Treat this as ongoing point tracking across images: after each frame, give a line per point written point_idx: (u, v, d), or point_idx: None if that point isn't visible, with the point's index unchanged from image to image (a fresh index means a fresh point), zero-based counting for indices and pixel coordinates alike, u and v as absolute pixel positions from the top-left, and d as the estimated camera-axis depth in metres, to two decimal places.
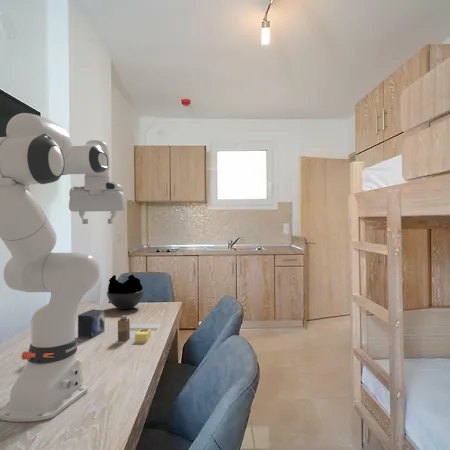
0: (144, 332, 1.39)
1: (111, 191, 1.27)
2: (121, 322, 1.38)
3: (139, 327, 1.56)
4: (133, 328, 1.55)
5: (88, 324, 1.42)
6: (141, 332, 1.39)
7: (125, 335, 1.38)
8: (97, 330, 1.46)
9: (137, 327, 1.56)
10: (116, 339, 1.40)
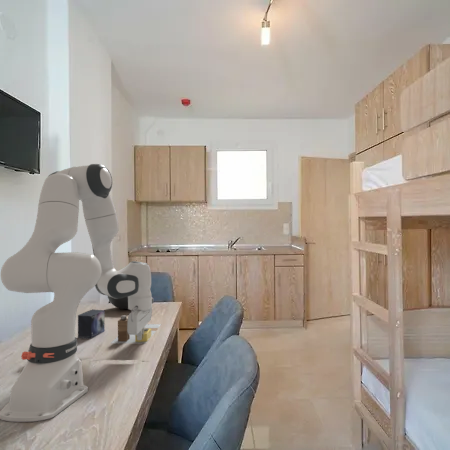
0: (144, 332, 1.40)
1: None
2: (121, 322, 1.38)
3: None
4: None
5: (88, 324, 1.42)
6: None
7: (125, 335, 1.38)
8: (97, 330, 1.46)
9: None
10: (116, 339, 1.40)
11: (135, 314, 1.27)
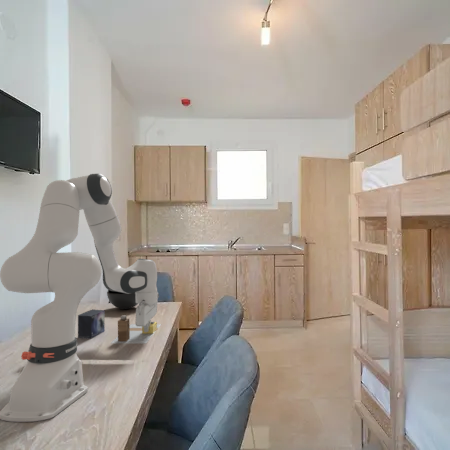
0: (150, 324, 1.50)
1: None
2: (121, 322, 1.38)
3: (139, 327, 1.56)
4: (133, 328, 1.55)
5: (88, 324, 1.42)
6: None
7: (125, 335, 1.38)
8: (97, 330, 1.46)
9: (137, 327, 1.56)
10: (116, 339, 1.40)
11: (142, 307, 1.37)
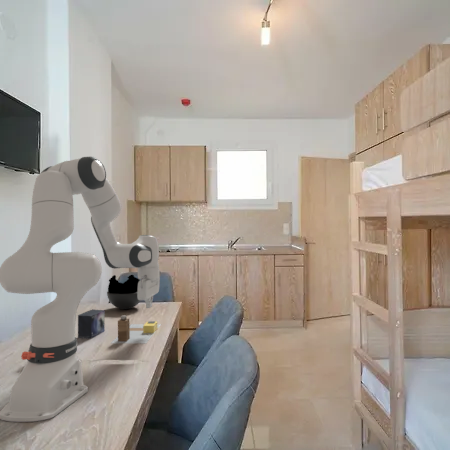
0: (151, 324, 1.50)
1: (158, 277, 1.53)
2: (121, 322, 1.38)
3: (139, 327, 1.56)
4: (133, 328, 1.55)
5: (88, 324, 1.42)
6: (149, 324, 1.50)
7: (125, 335, 1.38)
8: (97, 330, 1.46)
9: (137, 327, 1.56)
10: (116, 339, 1.40)
11: (144, 281, 1.38)
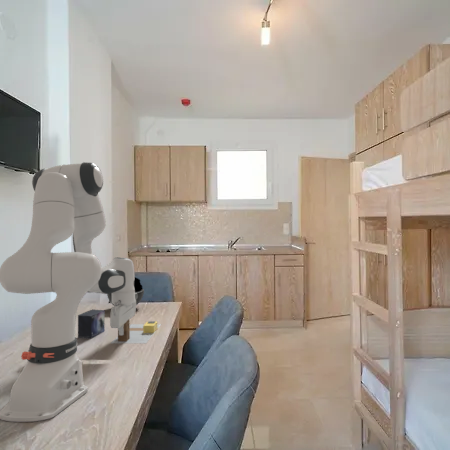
0: (151, 324, 1.50)
1: (134, 300, 1.46)
2: None
3: (139, 327, 1.56)
4: (133, 328, 1.55)
5: (88, 324, 1.42)
6: (149, 324, 1.50)
7: (125, 335, 1.38)
8: (97, 330, 1.46)
9: (137, 327, 1.56)
10: (116, 339, 1.40)
11: (118, 308, 1.31)
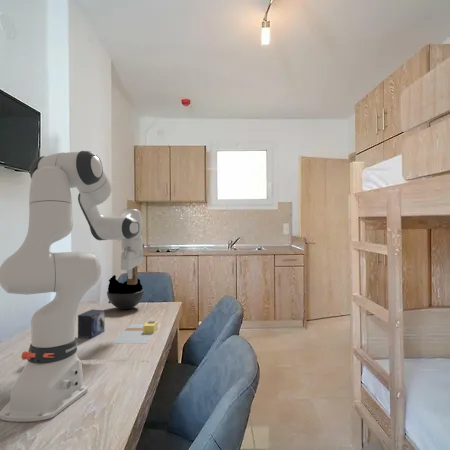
0: (151, 324, 1.50)
1: (142, 250, 1.59)
2: None
3: (139, 327, 1.56)
4: (133, 328, 1.55)
5: (88, 324, 1.42)
6: (149, 324, 1.50)
7: (134, 279, 1.52)
8: (97, 330, 1.46)
9: (137, 327, 1.56)
10: (116, 339, 1.40)
11: (127, 252, 1.45)
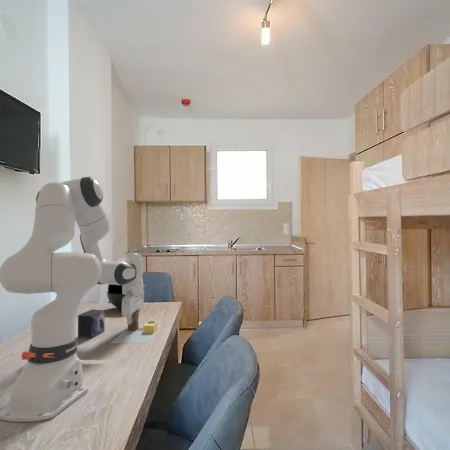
0: (151, 324, 1.50)
1: (142, 291, 1.60)
2: None
3: (139, 327, 1.56)
4: None
5: (88, 324, 1.42)
6: (149, 324, 1.50)
7: (135, 325, 1.52)
8: (97, 330, 1.46)
9: None
10: (116, 339, 1.40)
11: (128, 298, 1.45)
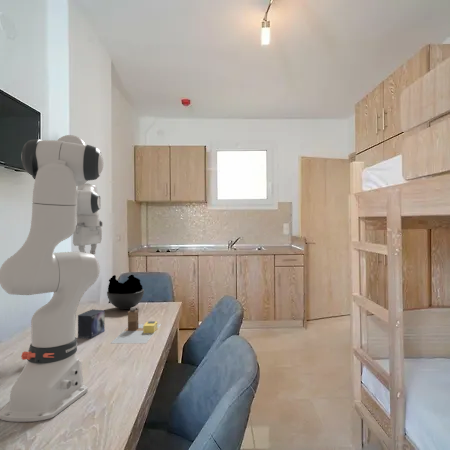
0: (151, 324, 1.50)
1: (99, 227, 1.55)
2: (131, 313, 1.52)
3: (139, 327, 1.56)
4: None
5: (88, 324, 1.42)
6: (149, 324, 1.50)
7: (135, 325, 1.52)
8: (97, 330, 1.46)
9: None
10: (116, 339, 1.40)
11: (80, 227, 1.41)
